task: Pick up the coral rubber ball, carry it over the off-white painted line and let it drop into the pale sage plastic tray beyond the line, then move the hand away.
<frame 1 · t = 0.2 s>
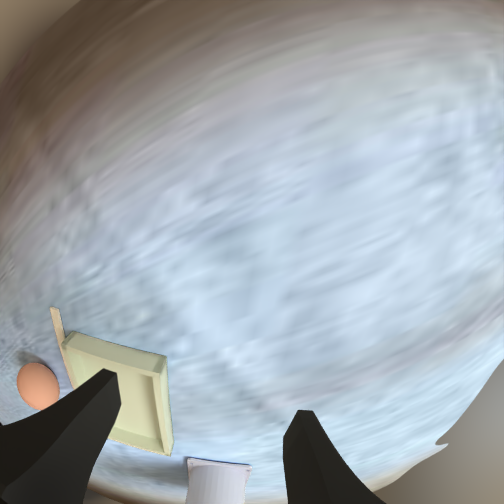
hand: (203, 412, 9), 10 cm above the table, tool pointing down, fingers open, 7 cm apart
throw line: (74, 378, 22), on the table
ball: (38, 386, 20), point 3 cm above the table
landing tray: (125, 396, 22), on the table
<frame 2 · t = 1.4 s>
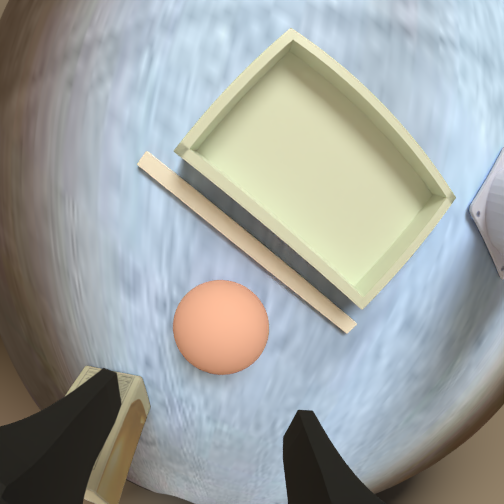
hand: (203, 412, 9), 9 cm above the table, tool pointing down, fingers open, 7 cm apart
skincare box: (120, 385, 21), on the table
throw line: (255, 248, 17), on the table
ball: (220, 327, 15), point 3 cm above the table
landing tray: (327, 168, 15), on the table
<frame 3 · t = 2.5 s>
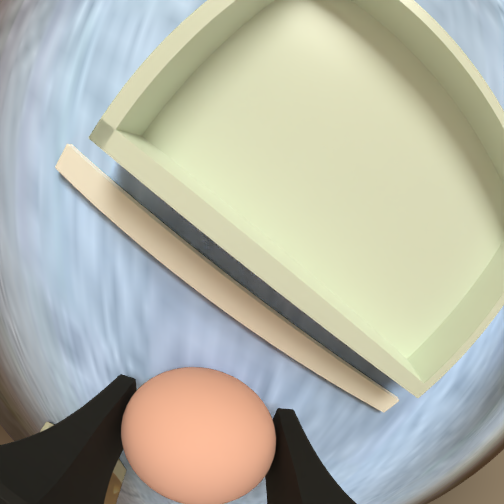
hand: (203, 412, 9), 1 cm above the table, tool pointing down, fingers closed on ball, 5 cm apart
skincare box: (88, 445, 14), on the table
throw line: (254, 312, 9), on the table
ball: (198, 438, 8), point 3 cm above the table, touching gripper
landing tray: (384, 169, 8), on the table
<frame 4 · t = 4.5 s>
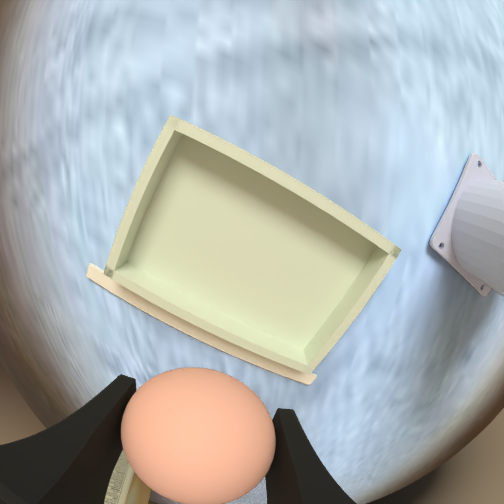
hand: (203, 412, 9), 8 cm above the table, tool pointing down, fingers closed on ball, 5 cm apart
skincare box: (132, 436, 22), on the table
throw line: (202, 332, 18), on the table
ball: (197, 438, 8), point 10 cm above the table, touching gripper
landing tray: (249, 250, 16), on the table
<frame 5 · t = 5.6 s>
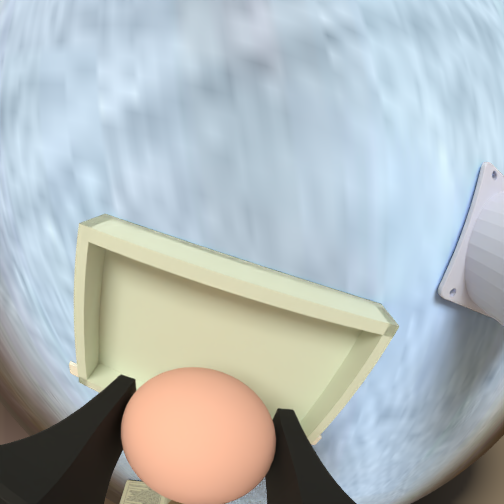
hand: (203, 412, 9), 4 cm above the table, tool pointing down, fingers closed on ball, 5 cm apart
skincare box: (158, 487, 20), on the table
ball: (197, 438, 8), point 6 cm above the table, touching gripper
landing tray: (218, 345, 13), on the table
when the fingers open (4 cm above the table, at t = 6.3 s): ball drops 2 cm, resting on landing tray.
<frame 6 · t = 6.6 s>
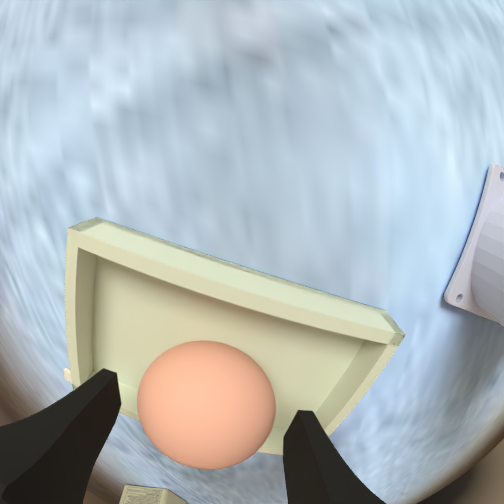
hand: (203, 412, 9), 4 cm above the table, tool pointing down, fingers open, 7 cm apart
skincare box: (156, 492, 20), on the table
ball: (206, 406, 9), point 3 cm above the table, touching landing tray
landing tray: (215, 354, 12), on the table
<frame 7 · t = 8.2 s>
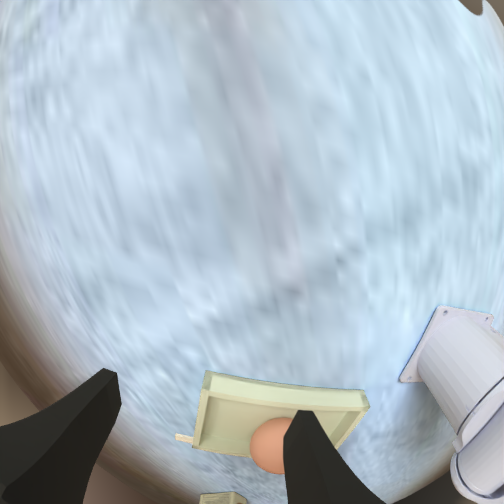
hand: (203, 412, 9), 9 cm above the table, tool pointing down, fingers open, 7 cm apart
skincare box: (224, 495, 29), on the table
throw line: (258, 450, 24), on the table
ball: (281, 446, 19), point 3 cm above the table, tilted 11°, touching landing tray
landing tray: (275, 417, 22), on the table
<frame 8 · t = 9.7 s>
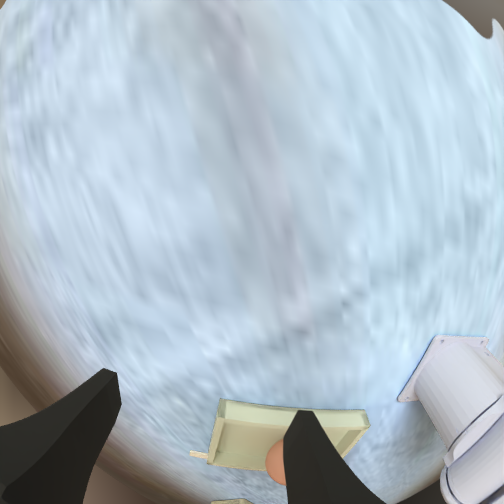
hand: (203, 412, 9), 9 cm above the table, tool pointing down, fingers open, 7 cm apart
skincare box: (234, 502, 30), on the table
throw line: (267, 462, 24), on the table
ball: (294, 461, 20), point 3 cm above the table, tilted 20°, touching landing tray
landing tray: (283, 435, 23), on the table
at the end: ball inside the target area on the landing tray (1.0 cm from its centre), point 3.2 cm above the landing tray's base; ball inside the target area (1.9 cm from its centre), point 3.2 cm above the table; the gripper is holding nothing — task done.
